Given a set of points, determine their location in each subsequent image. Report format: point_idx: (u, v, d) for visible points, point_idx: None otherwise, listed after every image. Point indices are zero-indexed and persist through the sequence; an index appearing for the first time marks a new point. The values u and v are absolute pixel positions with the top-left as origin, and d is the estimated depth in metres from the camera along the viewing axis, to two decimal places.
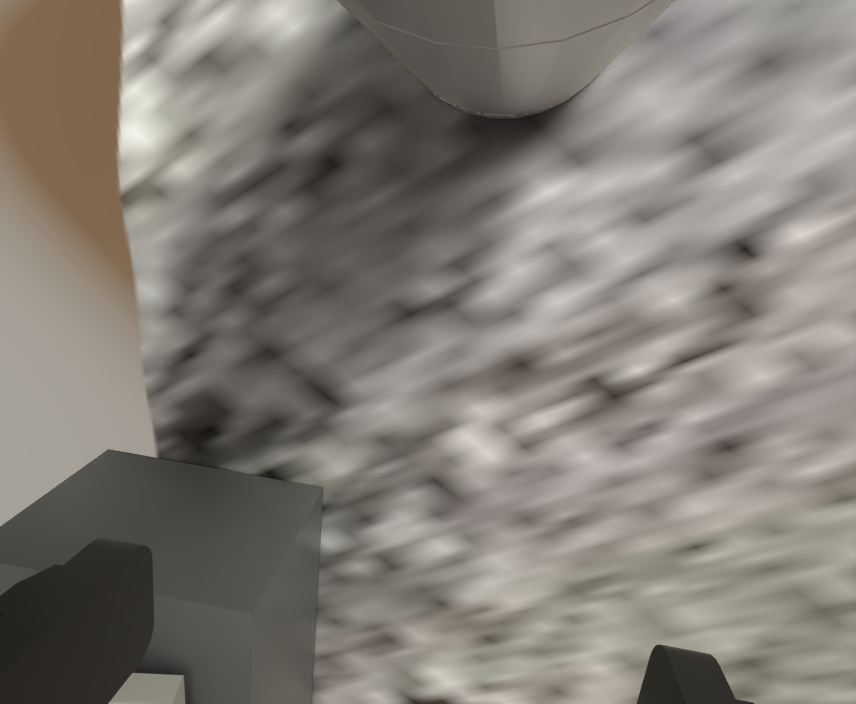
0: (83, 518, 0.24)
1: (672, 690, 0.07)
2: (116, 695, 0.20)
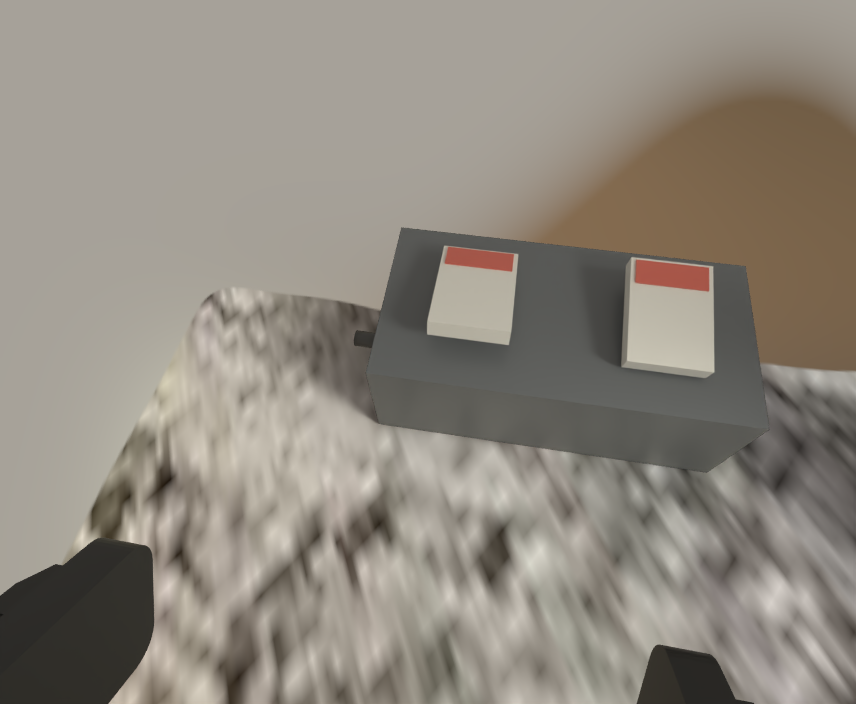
0: None
1: (672, 690, 0.07)
2: None
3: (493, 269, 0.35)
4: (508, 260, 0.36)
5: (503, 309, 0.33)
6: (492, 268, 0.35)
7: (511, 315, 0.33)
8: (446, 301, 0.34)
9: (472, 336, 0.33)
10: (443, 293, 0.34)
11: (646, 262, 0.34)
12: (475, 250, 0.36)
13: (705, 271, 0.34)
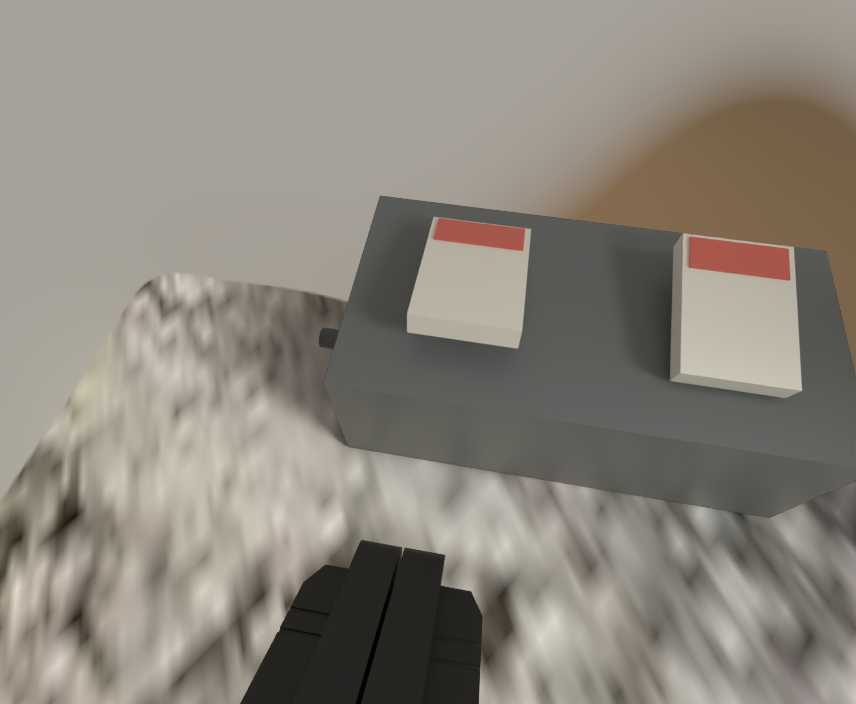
0: None
1: None
2: None
3: (498, 247, 0.27)
4: (518, 237, 0.27)
5: (511, 300, 0.24)
6: (497, 246, 0.27)
7: (521, 308, 0.24)
8: (434, 288, 0.25)
9: (468, 336, 0.24)
10: (430, 277, 0.25)
11: (704, 240, 0.26)
12: (474, 223, 0.28)
13: (784, 253, 0.25)
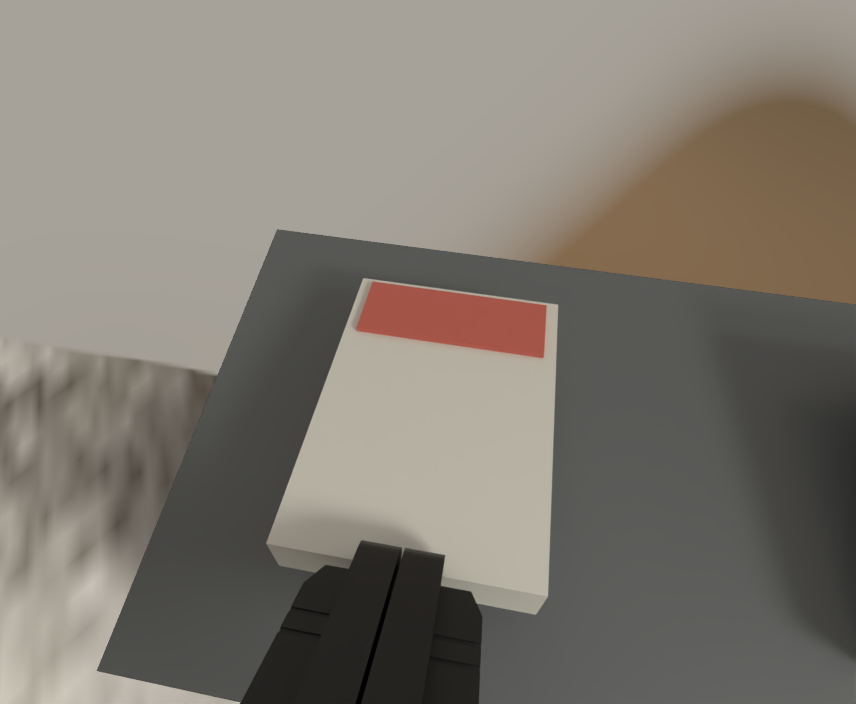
0: None
1: None
2: None
3: (491, 349, 0.13)
4: (532, 325, 0.13)
5: (520, 495, 0.10)
6: (488, 348, 0.13)
7: (545, 523, 0.10)
8: (342, 461, 0.11)
9: None
10: (337, 431, 0.11)
11: None
12: (443, 293, 0.14)
13: None
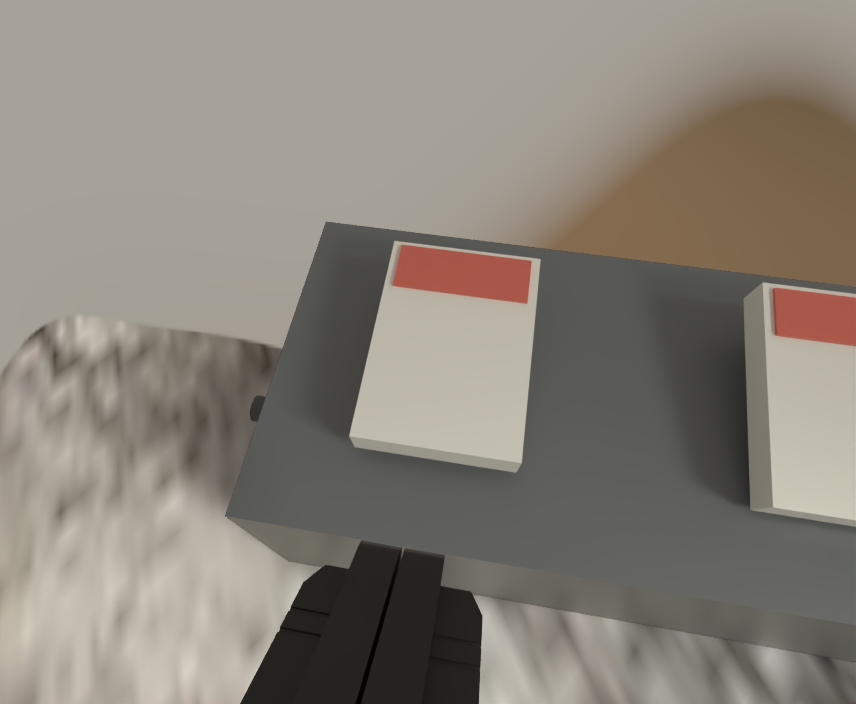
0: None
1: None
2: None
3: (490, 297, 0.18)
4: (520, 278, 0.18)
5: (507, 402, 0.16)
6: (487, 297, 0.18)
7: (522, 419, 0.16)
8: (391, 383, 0.17)
9: (443, 458, 0.16)
10: (386, 362, 0.17)
11: (795, 293, 0.17)
12: (455, 252, 0.18)
13: None
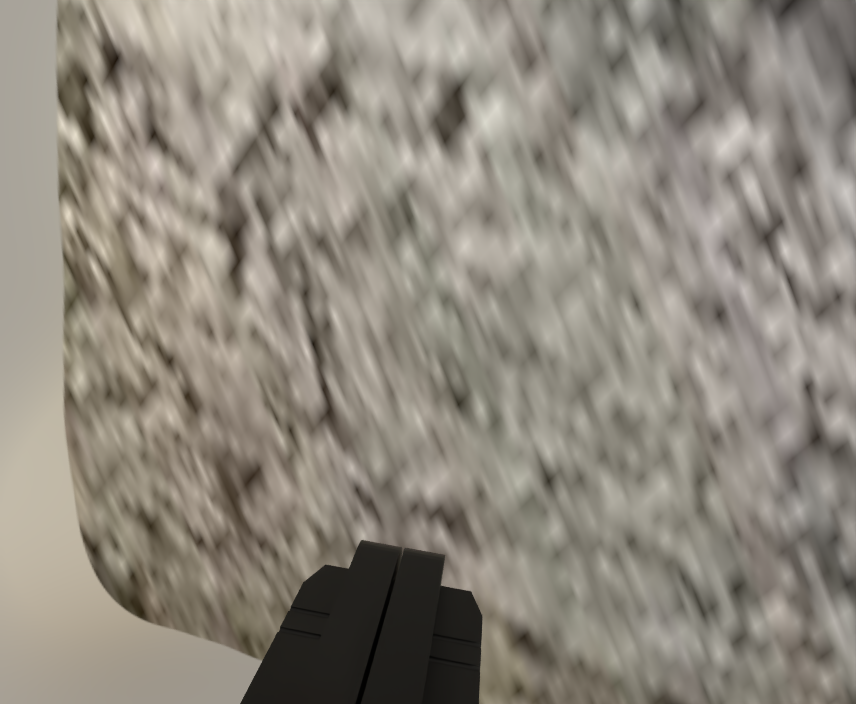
0: None
1: None
2: None
3: None
4: None
5: None
6: None
7: None
8: None
9: None
10: None
11: None
12: None
13: None
